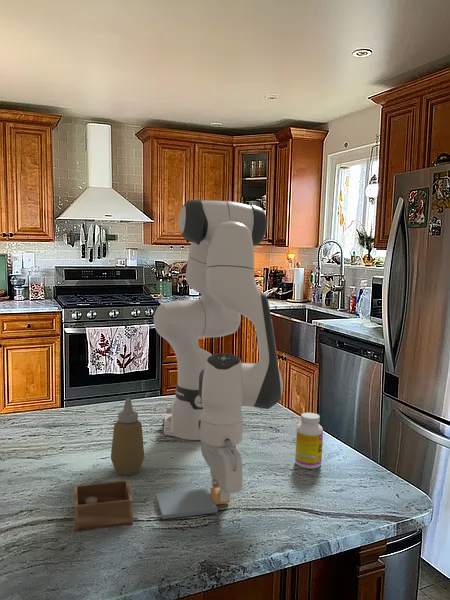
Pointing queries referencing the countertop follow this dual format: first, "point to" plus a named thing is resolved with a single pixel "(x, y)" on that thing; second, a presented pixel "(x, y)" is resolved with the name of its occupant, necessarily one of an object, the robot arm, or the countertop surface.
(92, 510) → the walnut box
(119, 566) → the countertop surface
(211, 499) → the lid
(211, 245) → the robot arm
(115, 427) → the squeeze bottle
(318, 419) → the supplement bottle
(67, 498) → the countertop surface
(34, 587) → the countertop surface
